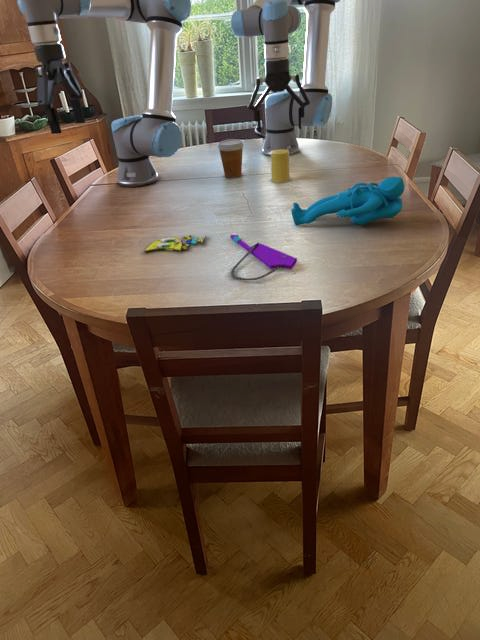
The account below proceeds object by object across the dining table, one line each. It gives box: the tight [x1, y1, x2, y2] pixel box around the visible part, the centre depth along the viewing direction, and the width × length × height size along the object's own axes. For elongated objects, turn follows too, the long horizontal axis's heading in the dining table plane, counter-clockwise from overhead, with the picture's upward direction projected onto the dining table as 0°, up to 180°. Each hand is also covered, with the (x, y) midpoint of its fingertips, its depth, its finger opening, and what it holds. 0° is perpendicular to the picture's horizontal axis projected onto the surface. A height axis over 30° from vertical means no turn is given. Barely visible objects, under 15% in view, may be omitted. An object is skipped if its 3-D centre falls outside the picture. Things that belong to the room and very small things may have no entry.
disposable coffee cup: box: [217, 138, 245, 178], centre depth 178 cm, size 10×10×12 cm
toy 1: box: [144, 234, 207, 254], centre depth 130 cm, size 10×1×15 cm
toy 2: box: [290, 176, 405, 227], centre depth 131 cm, size 17×11×30 cm
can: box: [270, 149, 291, 184], centre depth 169 cm, size 6×6×10 cm
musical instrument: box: [229, 234, 298, 281], centre depth 118 cm, size 24×2×20 cm
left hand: (69, 128), depth 139 cm, fingers open, 13 cm apart
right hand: (279, 129), depth 163 cm, fingers open, 13 cm apart
